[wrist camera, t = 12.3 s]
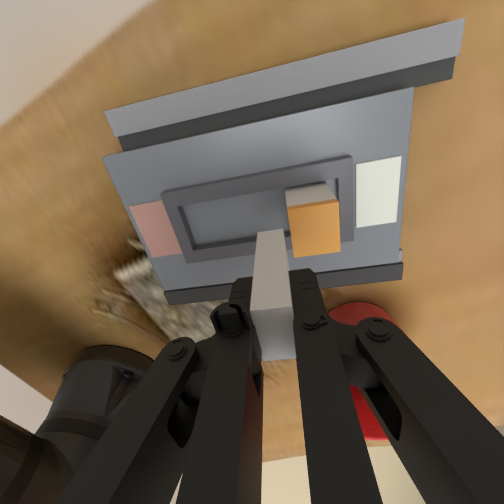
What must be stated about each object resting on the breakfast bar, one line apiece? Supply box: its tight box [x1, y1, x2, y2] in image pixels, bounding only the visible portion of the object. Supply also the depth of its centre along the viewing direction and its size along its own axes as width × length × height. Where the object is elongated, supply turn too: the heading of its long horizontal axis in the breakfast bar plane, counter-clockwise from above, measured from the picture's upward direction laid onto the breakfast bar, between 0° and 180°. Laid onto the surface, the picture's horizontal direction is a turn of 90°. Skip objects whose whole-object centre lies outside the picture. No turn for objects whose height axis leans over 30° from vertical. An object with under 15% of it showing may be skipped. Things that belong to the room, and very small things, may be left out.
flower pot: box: [328, 302, 407, 440], centre depth 26 cm, size 11×11×10 cm
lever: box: [285, 181, 341, 258], centre depth 18 cm, size 3×3×5 cm
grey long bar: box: [104, 18, 465, 151], centre depth 18 cm, size 24×3×2 cm, turn 102°
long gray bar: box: [164, 248, 403, 305], centre depth 26 cm, size 24×3×2 cm, turn 102°
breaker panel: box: [101, 87, 414, 291], centre depth 21 cm, size 22×13×4 cm, turn 102°
